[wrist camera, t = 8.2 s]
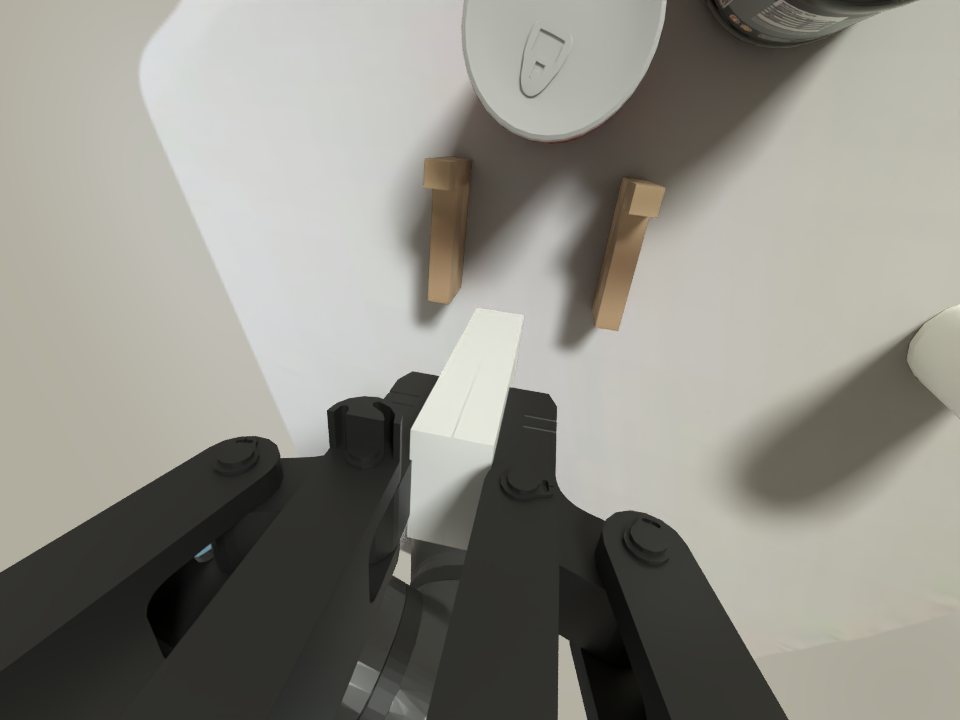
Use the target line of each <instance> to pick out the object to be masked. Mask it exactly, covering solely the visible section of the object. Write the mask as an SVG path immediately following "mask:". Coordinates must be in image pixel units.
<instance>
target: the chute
mask: <svg viewBox="0 0 960 720" xmlns="http://www.w3.org/2000/svg"><path fill="white" fill-rule="evenodd" d="M471 163H472V159H467V158H459V157H438V158H426V159H425V160H424V188H431V189H433V197H432V219H431V240H430V262H429V284H428V301H432V302H439V303H445V304H449V303H450V302H451V300H452V299H453V298H454V296H455V295H456V294H457V292H458V291H459V290H460V288H461V283H462V271H463V259H464V247H465V235H466V223H467V211H468V199H469V187H470V175H471ZM665 189H666V188H665V187H662V186H660V185H657V184H655V183H652V182H650V181H647V180H642V179H634V178H625V177H623V178H622V182H621V186H620V190H619V195H618V199H617V203H616V207H615V212H614V216H613V220H612V224H611V228H610V233H609V237H608V241H607V245H606V250H605V254H604V258H603V262H602V266H601V271H600V275H599V279H598V283H597V288H596V292H595V296H594V300H593V305H592V312H593V317H594V323H595V328H601V329H608V330H614V331H618V330H619V326H620V323H621V319H622V315H623V312H624V308H625V304H626V301H627V297H628V293H629V290H630V286H631V283H632V279H633V275H634V272H635V268H636V264H637V261H638V257H639V253H640V250H641V246H642V242H643V239H644V235H645V231H646V228H647V224H648V221H649V217H655V218H657V217H658V213H659V210H660V206H661V203H662V199H663V196H664V192H665Z"/></svg>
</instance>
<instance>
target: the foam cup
mask: <svg viewBox="0 0 960 720" xmlns="http://www.w3.org/2000/svg"><path fill="white" fill-rule="evenodd" d="M907 362H908V364H909V366H910V368H911V370H912V372H913V374H914V376H916V377H918V379H919V381H920V382H921V383H922V384H923V385H924V386H926V387H927V388H928V389H929V390H930V391H931V392H932V393H933V394H934V395H935V396H936V397H937V398H938V399H939V400H940V401H941V402H942V403H943V404H945V405H946V406H947V407H948V408H949V409H950V410H951V411H952V412H953V413H954V414H955V415H956V416H957V417H958V418H959V419H960V305H957V306H953V307H950V308H947V309H946V310H944V311H942V312H941V313H939V314H938V315H936V316H935V317H933V318H932V319H930V320H929V321H927V322H926V323H924V324H923V326H922V327H921V328H920V330H919V331H918V332H917V333H916V335H915V336H914V337H913V339H912V340H911V341H910V344H909V349H908V355H907Z"/></svg>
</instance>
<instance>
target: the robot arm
mask: <svg viewBox="0 0 960 720" xmlns="http://www.w3.org/2000/svg"><path fill="white" fill-rule="evenodd" d="M523 321H524V315H520V314H513V313H507V312H501V311H494V310H488V309H482V308H477V309H476V310H475V312H474V314H473V316H472V318H471V320H470V321H469V323H468V325H467V327H466V329H465V331H464V332H463V334H462V336H461V338H460V340H459V342H458V343H457V345H456V347H455V349H454V351H453V353H452V354H451V356H450V358H449V360H448V362H447V364H446V365H445V367H444V369H443V371H442V373H441V375H440V376H436V375H430V374H424V373H419V372H413V371H412V372H411V373H409V374H407V375H405V376H403V377H402V378H400V379H398V380H397V382H396V383H395V384H394V386H393V387H392V389H391V390H390V393H388V394H387V396H386V397H385V398H384V399H382V398H379V397H366V396H363V397H356V398H349V399H346V400H344V401H341V402H338V403H336V404H335V405H333V406H332V407H331V408H329V409H328V410H327V416H328V429H329V443H330V449H329V450H328V451H327V452H326V454H325V455H324V456H317V457H304V458H280V453H279V450H278V447H277V445H276V444H275V443H273V442H272V441H270V440H269V439H266V438H261V437H257V436H246V437H237V438H233V439H229V440H225V441H222V442H220V443H218V444H216V445H214V446H211V447H209V448H208V449H206V450H204V451H203V452H201V453H199V454H198V455H196V456H194V457H193V458H191V459H189V460H188V461H186V462H184V463H183V464H181V465H179V466H178V467H176V468H174V469H173V470H171V471H169V472H168V473H166V474H164V475H163V476H161V477H159V478H158V479H156V480H154V481H153V482H151V483H149V484H147V485H146V486H144V487H142V488H141V489H139V490H137V491H136V492H134V493H132V494H131V495H129V496H127V497H126V498H124V499H122V500H121V501H119V502H117V503H116V504H114V505H112V506H111V507H109V508H107V509H106V510H104V511H102V512H101V513H99V514H98V515H96V516H94V517H92V518H91V519H89V520H87V521H86V522H84V523H83V524H81V525H79V526H77V527H76V528H74V529H72V530H71V531H69V532H67V533H66V534H64V535H62V536H61V537H59V538H57V539H56V540H54V541H53V542H51V543H49V544H47V545H46V546H44V547H42V548H41V549H39V550H37V551H36V552H34V553H32V554H31V555H29V556H27V557H26V558H24V559H22V560H21V561H19V562H17V563H16V564H14V565H12V566H11V567H9V568H7V569H6V570H4V571H2V572H1V573H0V720H558V636H559V635H561V636H563V637H564V638H566V639H568V640H569V641H570V648H571V652H572V656H573V661H574V665H575V669H576V673H577V678H578V682H579V686H580V690H581V695H582V699H583V703H584V707H585V711H586V715H587V720H788V718H787V717H786V714H785V713H784V711H783V709H782V708H781V706H780V704H779V702H778V701H777V699H776V697H775V696H774V694H773V692H772V690H771V689H770V687H769V685H768V684H767V682H766V680H765V678H764V677H763V675H762V673H761V671H760V670H759V668H758V666H757V665H756V663H755V661H754V659H753V658H752V656H751V654H750V653H749V651H748V649H747V647H746V646H745V644H744V642H743V641H742V639H741V637H740V635H739V634H738V632H737V630H736V629H735V627H734V625H733V623H732V622H731V620H730V618H729V616H728V615H727V613H726V611H725V610H724V608H723V606H722V604H721V603H720V601H719V599H718V598H717V596H716V594H715V592H714V591H713V589H712V587H711V586H710V584H709V582H708V580H707V579H706V577H705V575H704V574H703V572H702V570H701V568H700V567H699V565H698V563H697V562H696V560H695V558H694V556H693V555H692V553H691V551H690V549H689V548H688V546H687V544H686V543H685V542H684V541H683V539H682V538H681V537H680V536H679V534H678V533H677V532H676V531H675V530H674V529H672V528H671V527H670V526H668V525H667V524H666V523H664V522H663V521H662V520H660V519H657V518H655V517H653V516H651V515H648V514H646V513H641V512H636V511H623V512H616V513H615V514H613V515H612V516H610V517H609V518H607V519H606V521H604V520H602V519H600V518H598V517H596V516H593V515H591V514H589V513H587V512H585V511H583V510H582V509H580V508H578V507H576V506H575V505H574V504H573V503H571V502H570V501H569V500H568V499H567V498H566V497H565V496H564V495H563V493H562V492H561V491H560V489H559V487H558V484H557V482H556V476H555V470H556V426H557V422H556V420H557V406H556V405H555V403H554V401H553V400H552V398H551V397H550V395H549V394H545V393H539V392H534V391H528V390H523V389H517V388H513V383H514V377H515V371H516V365H517V358H518V352H519V346H520V340H521V333H522V327H523ZM406 523H407V537H409V538H412V544H411V583H410V586H409V585H408V584H406V583H405V582H403V581H401V580H400V579H398V578H396V577H394V576H393V575H392V574H393V571H394V569H395V567H396V564H397V561H398V557H399V551H400V538H401V535H402V533H403V530H404V528H405V526H406Z"/></svg>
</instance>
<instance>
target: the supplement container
mask: <svg viewBox="0 0 960 720" xmlns="http://www.w3.org/2000/svg"><path fill="white" fill-rule="evenodd" d="M916 1H919V0H706V2H707V4H708V7H709V8H710V10H711V12H712V13H713V15H714V17H715V18H716V19H717V20H718V22H719V23H720V24H721V25H722V26H723V27H724V28H725V29H726V30H727V31H728V32H730V33H731V34H732V35H734V36H735V37H737V38H739V39H741V40H743V41H744V42H747V43H750V44H753V45H756V46H761V47H767V48H789V47H796V46H801V45H805V44H809V43H813V42H816V41H818V40H821V39H824V38H826V37H829V36H831V35H833V34H835V33H837V32H840V31H841V30H843V29H845V28H847V27H848V26H850V25H853V24H855V23H857V22H860V21H862V20H864V19H867V18H869V17H871V16H874V15H876V14H879V13H881V12H883V11H886V10H890V9H894V8H898V7H902V6H905V5H907V4H910V3H913V2H916Z"/></svg>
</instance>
